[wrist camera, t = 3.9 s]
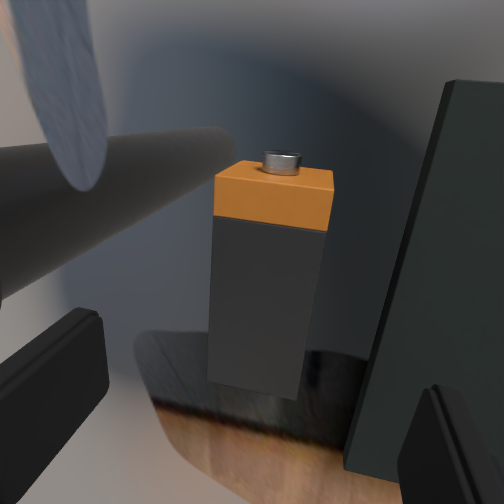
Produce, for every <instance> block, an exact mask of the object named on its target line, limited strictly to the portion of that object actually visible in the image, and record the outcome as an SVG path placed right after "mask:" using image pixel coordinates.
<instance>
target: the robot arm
mask: <svg viewBox="0 0 504 504" xmlns="http://www.w3.org/2000/svg"><path fill="white" fill-rule="evenodd" d="M108 388H109V374H108V366H107V357H106V348H105V339H104V330H103V321H102V318H101V317H99V315H98V313H97V312H96V311H93V310H89V309H84V308H79V307H78V308H75V309H73V310H72V311H71V312H69V313H68V314H66V315H65V316H64V317H62V318H61V319H60V320H59V321H57V322H56V323H55V324H53V325H52V326H50V327H49V328H48V329H46V330H45V331H44V332H42V333H41V334H40V335H38V336H37V337H36V338H34V339H33V340H32V341H30V342H29V343H28V344H26V345H25V346H24V347H22V348H21V349H20V350H18V351H17V352H16V353H14V354H13V355H12V356H10V357H9V358H8V359H6V360H5V361H4V362H2V363H1V364H0V504H16V503H17V502H18V501H19V500H20V499H21V498H22V497H23V495H24V494H25V493H26V492H27V490H28V489H29V488H30V487H31V486H32V484H33V483H34V482H35V481H36V479H37V478H38V477H39V476H40V474H41V473H42V472H43V471H44V470H45V468H46V467H47V466H48V465H49V464H50V462H51V461H52V460H53V459H54V457H55V456H56V455H57V454H58V452H59V451H60V450H61V449H62V448H63V446H64V445H65V444H66V443H67V441H68V440H69V439H70V438H71V437H72V435H73V434H74V433H75V432H76V430H77V429H78V428H79V427H80V426H81V424H82V423H83V422H84V421H85V419H86V418H87V417H88V416H89V414H90V413H91V412H92V411H93V410H94V408H95V407H96V406H97V405H98V403H99V402H100V401H101V400H102V399H103V397H104V396H105V395H106V393H107V391H108ZM397 472H398V478H399V484H400V490H401V496H402V501H403V504H504V469H503V467H502V465H501V464H500V462H499V460H498V459H497V458H496V457H495V456H494V455H493V454H491V453H489V452H488V450H487V447H486V445H485V443H484V441H483V439H482V436H481V434H480V432H479V430H478V428H477V425H476V423H475V421H474V419H473V417H472V414H471V412H470V410H469V408H468V405H467V403H466V401H465V399H464V397H463V394H462V393H461V391H460V390H459V389H455V388H451V387H446V386H442V385H437V384H434V385H432V387H431V389H428V388H425V389H424V390H423V392H422V395H421V397H420V400H419V403H418V405H417V408H416V411H415V413H414V416H413V419H412V421H411V424H410V427H409V429H408V432H407V435H406V437H405V440H404V443H403V445H402V448H401V451H400V453H399V456H398V460H397Z"/></svg>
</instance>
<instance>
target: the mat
mask: <svg viewBox="0 0 504 504" xmlns="http://www.w3.org/2000/svg"><path fill="white" fill-rule="evenodd" d="M434 384H437V385H442V386H446V387H451V388H455V389H459V390H460V391H461V393H462V394H463V397H464V399H465V401H466V403H467V405H468V408H469V410H470V412H471V414H472V417H473V419H474V421H475V423H476V425H477V428H478V430H479V432H480V434H481V436H482V439H483V441H484V443H485V445H486V447H487V450H488V452H489V453H491V454H493V455H494V456H495V457H496V458H497V459H498V460H499V462H500V464H501V465H502V467H503V469H504V83H500V82H487V81H473V80H459V79H456V80H452V81H449V82H446V83H445V86H444V90H443V93H442V97H441V101H440V104H439V108H438V112H437V115H436V119H435V122H434V126H433V130H432V133H431V137H430V141H429V144H428V148H427V151H426V155H425V158H424V162H423V166H422V169H421V173H420V177H419V181H418V184H417V188H416V191H415V195H414V198H413V202H412V206H411V209H410V213H409V216H408V220H407V224H406V227H405V231H404V234H403V238H402V242H401V245H400V249H399V253H398V256H397V260H396V263H395V267H394V271H393V275H392V278H391V281H390V285H389V289H388V292H387V296H386V299H385V303H384V307H383V310H382V314H381V318H380V321H379V325H378V328H377V332H376V336H375V339H374V343H373V346H372V350H371V354H370V357H369V361H368V365H367V368H366V372H365V375H364V379H363V383H362V386H361V390H360V393H359V397H358V401H357V404H356V408H355V412H354V415H353V419H352V422H351V426H350V430H349V433H348V437H347V440H346V444H345V448H344V451H343V463H344V470H347V471H351V472H355V473H359V474H363V475H367V476H371V477H375V478H379V479H383V480H387V481H391V482H395V483H399V478H398V472H397V460H398V456H399V453H400V451H401V448H402V445H403V443H404V440H405V437H406V435H407V432H408V429H409V427H410V424H411V421H412V419H413V416H414V413H415V411H416V408H417V405H418V403H419V400H420V397H421V395H422V392H423V390H424V389H425V388H428V389H431V387H432V385H434Z"/></svg>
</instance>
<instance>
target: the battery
mask: <svg viewBox="0 0 504 504" xmlns="http://www.w3.org/2000/svg"><path fill="white" fill-rule="evenodd" d="M301 160H302V155H301V154H299V153H294V152H289V151H278V150H267V151H264V152H263V160H262V163H260V162H251V161H240V162H238V163H237V164H235V165H233V166H231V167H229V168H227V169H226V170H224V171H222V172H220V173H218V174H216V175H215V186H214V187H215V188H214V212H213V214H214V216H213V232H212V257H211V284H210V309H209V333H208V358H207V381H210V382H214V383H219V384H223V385H227V386H232V387H236V388H241V389H245V390H250V391H254V392H259V393H263V394H268V395H272V396H277V397H281V398H286V399H290V400H295V401H296V400H297V394H298V389H299V383H300V378H301V372H302V367H303V361H304V356H305V350H306V344H307V339H308V334H309V328H310V322H311V317H312V311H313V306H314V300H315V295H316V289H317V284H318V278H319V273H320V267H321V261H322V256H323V251H324V245H325V240H326V234H327V228H328V223H329V217H330V212H331V206H332V201H333V195H334V184H333V172H332V171H330V170H320V169H312V168H304V167H301Z"/></svg>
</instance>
